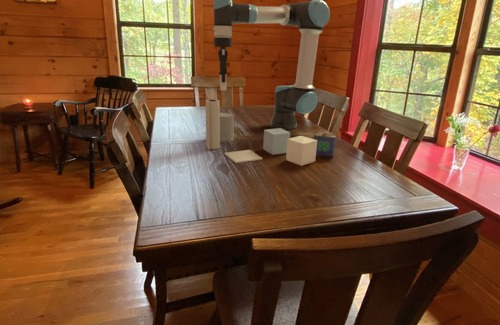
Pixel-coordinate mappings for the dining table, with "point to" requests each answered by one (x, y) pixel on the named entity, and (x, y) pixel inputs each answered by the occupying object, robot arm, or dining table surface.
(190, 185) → the dining table surface
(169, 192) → the dining table surface
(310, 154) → the beige rectangular block
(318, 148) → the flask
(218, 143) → the paper towel roll
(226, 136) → the speckled beige cylinder
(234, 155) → the mat
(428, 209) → the dining table surface
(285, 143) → the pale sage cube
